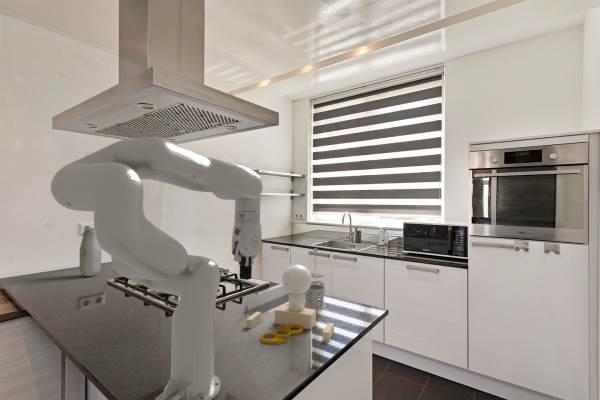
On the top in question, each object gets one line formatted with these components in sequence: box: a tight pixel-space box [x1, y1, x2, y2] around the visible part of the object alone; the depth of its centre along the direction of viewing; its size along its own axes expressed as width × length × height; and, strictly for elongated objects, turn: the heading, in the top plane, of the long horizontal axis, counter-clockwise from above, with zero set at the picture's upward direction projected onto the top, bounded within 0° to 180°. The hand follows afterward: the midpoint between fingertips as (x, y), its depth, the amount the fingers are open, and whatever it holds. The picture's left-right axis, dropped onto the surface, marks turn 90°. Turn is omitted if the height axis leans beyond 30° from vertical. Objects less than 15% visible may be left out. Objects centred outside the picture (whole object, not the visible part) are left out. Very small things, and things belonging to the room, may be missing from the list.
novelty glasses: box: [259, 324, 304, 345], centre depth 101 cm, size 17×2×10 cm
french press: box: [305, 248, 327, 311], centre depth 129 cm, size 10×12×25 cm
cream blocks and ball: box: [245, 263, 335, 343], centre depth 109 cm, size 16×30×22 cm, turn 71°
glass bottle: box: [79, 227, 103, 277], centre depth 173 cm, size 10×10×28 cm
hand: (245, 278), depth 89 cm, fingers closed
